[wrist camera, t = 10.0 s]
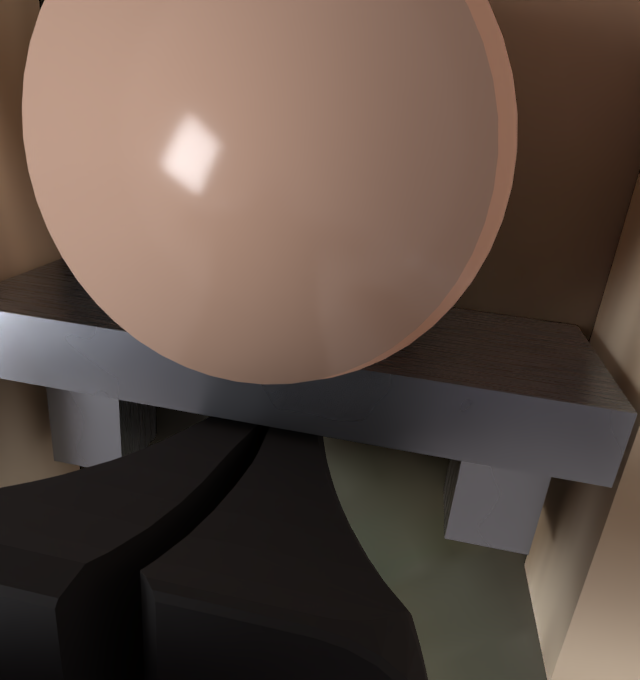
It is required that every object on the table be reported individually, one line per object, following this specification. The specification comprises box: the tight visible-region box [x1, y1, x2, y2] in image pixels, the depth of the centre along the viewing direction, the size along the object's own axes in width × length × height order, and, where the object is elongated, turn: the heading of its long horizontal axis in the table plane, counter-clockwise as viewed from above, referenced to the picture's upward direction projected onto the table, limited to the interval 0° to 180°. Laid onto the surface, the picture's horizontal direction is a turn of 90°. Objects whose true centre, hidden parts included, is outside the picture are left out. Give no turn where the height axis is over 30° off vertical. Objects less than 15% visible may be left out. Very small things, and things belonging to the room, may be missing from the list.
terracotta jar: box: [22, 0, 518, 384], centre depth 8 cm, size 6×6×5 cm
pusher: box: [0, 258, 637, 555], centre depth 11 cm, size 4×10×4 cm, turn 85°
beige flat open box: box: [0, 0, 640, 680], centre depth 8 cm, size 21×14×3 cm
